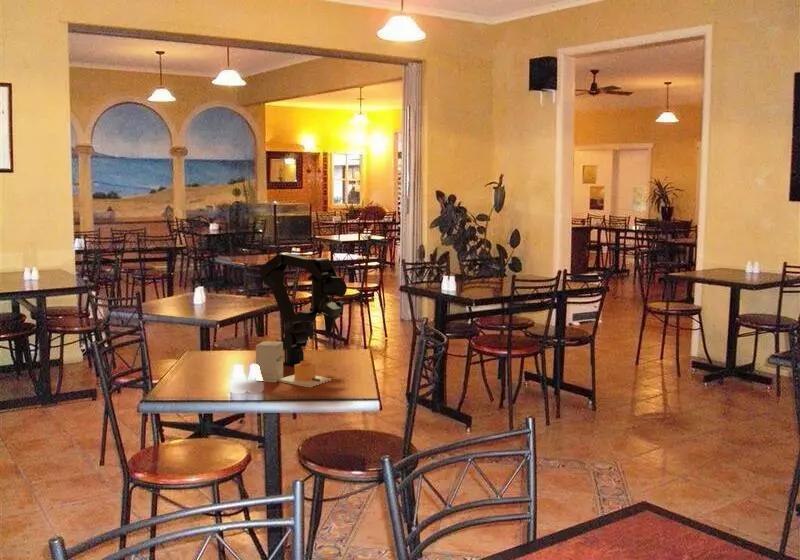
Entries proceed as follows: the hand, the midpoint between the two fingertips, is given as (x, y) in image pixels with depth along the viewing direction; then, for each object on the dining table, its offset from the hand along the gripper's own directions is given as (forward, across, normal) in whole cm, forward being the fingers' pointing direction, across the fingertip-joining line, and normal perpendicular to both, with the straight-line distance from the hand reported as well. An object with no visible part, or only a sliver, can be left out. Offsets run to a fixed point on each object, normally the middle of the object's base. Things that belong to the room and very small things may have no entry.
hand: (320, 336), depth 294 cm
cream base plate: (+12, -16, -8) cm, 21 cm away
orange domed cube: (+11, -16, -8) cm, 21 cm away
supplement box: (+12, -21, +3) cm, 25 cm away
